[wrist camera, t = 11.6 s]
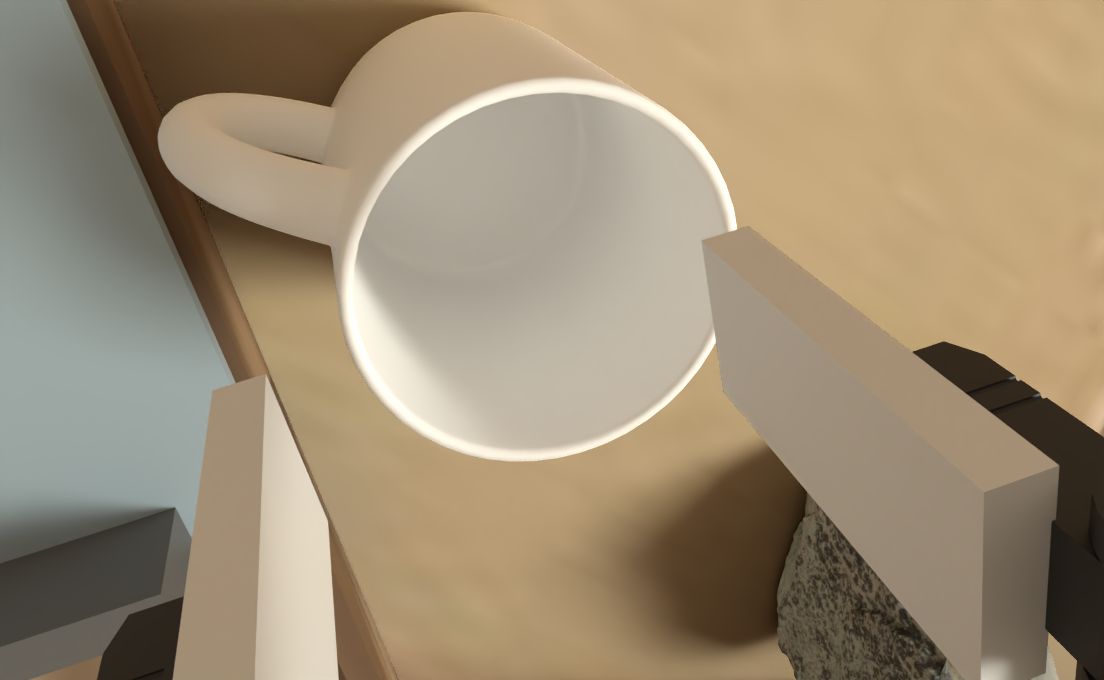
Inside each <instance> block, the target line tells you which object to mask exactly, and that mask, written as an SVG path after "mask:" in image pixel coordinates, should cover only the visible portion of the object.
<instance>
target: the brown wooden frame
mask: <svg viewBox="0 0 1104 680" xmlns="http://www.w3.org/2000/svg"><path fill="white" fill-rule="evenodd" d="M66 1H67V3H68V5H69V7H70V10H71V12H72V14H73V17H74V19H75V21H76V23H77V26H78V28H79V30H80V32H81V35H82V37H83V39H84V41H85V44H86V46H87V48H88V50H89V53H90V55H91V57H92V59H93V62H94V64H95V66H96V68H97V71H98V73H99V75H100V77H101V80H102V82H103V84H104V87H105V89H106V91H107V93H108V96H109V98H110V100H111V102H112V105H113V107H114V109H115V111H116V114H117V116H118V118H119V120H120V123H121V125H122V127H123V129H124V132H125V134H126V136H127V138H128V141H129V143H130V145H131V147H132V150H133V152H134V154H135V157H136V159H137V161H138V163H139V166H140V168H141V170H142V172H143V175H144V177H145V179H146V181H147V184H148V186H149V188H150V190H151V193H152V195H153V197H154V199H155V202H156V204H157V206H158V208H159V211H160V213H161V215H162V217H163V220H164V222H165V224H166V227H167V229H168V231H169V233H170V236H171V238H172V240H173V242H174V245H175V247H176V249H177V251H178V254H179V256H180V258H181V260H182V263H183V265H184V267H185V269H186V272H187V274H188V276H189V278H190V281H191V283H192V285H193V287H194V290H195V292H196V294H197V297H198V299H199V301H200V303H201V306H202V308H203V310H204V312H205V315H206V317H207V319H208V321H209V324H210V326H211V328H212V330H213V333H214V335H215V337H216V339H217V342H218V344H219V346H220V348H221V351H222V353H223V355H224V357H225V360H226V362H227V364H228V367H229V369H230V371H231V373H232V376H233V378H234V380H235V382H236V383H238V382H241V381H244V380H248V379H251V378H254V377H257V376H261V375H264V374H266V375H267V378H268V380H269V383H270V385H271V387H272V390H273V392H274V394H275V397H276V399H277V402H278V404H279V406H280V409H281V411H282V413H283V416H284V418H285V420H286V423H287V425H288V428H289V430H290V432H291V435H292V437H293V439H294V442H295V444H296V447H297V449H298V451H299V454H300V456H301V458H302V461H303V463H304V466H305V468H306V470H307V473H308V475H309V477H310V480H311V482H312V485H313V487H314V489H315V492H316V494H317V496H318V499H319V501H320V503H321V506H322V508H323V511H324V513H325V515H326V518H327V520H328V529H329V544H330V559H331V574H332V588H333V603H334V618H335V633H336V648H337V663H338V678H339V680H398V678H397V676H396V673H395V671H394V668H393V666H392V664H391V661H390V659H389V656H388V654H387V652H386V649H385V647H384V645H383V642H382V640H381V637H380V635H379V633H378V630H377V628H376V625H375V623H374V621H373V618H372V616H371V614H370V611H369V609H368V606H367V604H366V602H365V599H364V597H363V594H362V592H361V590H360V587H359V585H358V583H357V580H356V578H355V575H354V573H353V571H352V568H351V566H350V563H349V561H348V559H347V556H346V554H345V552H344V549H343V547H342V544H341V542H340V540H339V537H338V535H337V533H336V530H335V528H334V525H333V523H332V521H331V518H330V516H329V513H328V511H327V509H326V506H325V504H324V502H323V499H322V497H321V494H320V492H319V490H318V487H317V485H316V482H315V480H314V478H313V475H312V473H311V471H310V468H309V466H308V463H307V461H306V459H305V456H304V454H303V451H302V449H301V447H300V444H299V442H298V440H297V437H296V435H295V432H294V430H293V428H292V425H291V423H290V420H289V418H288V416H287V413H286V411H285V409H284V406H283V404H282V401H281V399H280V397H279V394H278V392H277V390H276V387H275V385H274V382H273V380H272V378H271V375H270V373H269V370H268V368H267V366H266V363H265V361H264V359H263V356H262V354H261V351H260V349H259V347H258V344H257V342H256V339H255V337H254V335H253V332H252V330H251V328H250V325H249V323H248V320H247V318H246V316H245V313H244V311H243V308H242V306H241V304H240V301H239V299H238V297H237V294H236V292H235V289H234V287H233V285H232V282H231V280H230V278H229V275H228V273H227V270H226V268H225V266H224V263H223V261H222V258H221V256H220V254H219V251H218V249H217V247H216V244H215V242H214V239H213V237H212V235H211V232H210V230H209V227H208V225H207V223H206V220H205V218H204V216H203V213H202V211H201V208H200V206H199V204H198V201H197V199H196V196H195V194H194V192H193V191H191V190H190V189H189V188H187V187H186V186H185V185H184V184H182V183H181V182H180V181H179V180H178V179H176V178H175V177H174V175H173V174H172V173H171V172H170V170H169V169H168V168H167V166H166V164H165V162H164V160H163V158H162V156H161V153H160V151H159V146H158V132H159V128H160V125H161V122H162V120H163V118H162V115H161V113H160V111H159V108H158V106H157V104H156V101H155V99H154V96H153V94H152V92H151V89H150V87H149V84H148V82H147V80H146V77H145V75H144V73H143V70H142V68H141V65H140V63H139V61H138V58H137V56H136V53H135V51H134V49H133V46H132V44H131V42H130V39H129V37H128V34H127V32H126V30H125V27H124V25H123V22H122V20H121V18H120V15H119V13H118V11H117V8H116V6H115V3H114V1H113V0H66ZM101 660H102V655H101V656H98V657H95V658H92V659H89V660H86V661H83V662H81V663H78V664H75V665H72V666H69V667H66V668H63V669H60V670H57V671H54V672H51V673H48V674H45V675H42V676H39V677H36V678H33V679H30V680H97V677H98V672H99V668H100V664H101Z"/></svg>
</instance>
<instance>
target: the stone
mask: <svg viewBox="0 0 1104 680" xmlns="http://www.w3.org/2000/svg"><path fill="white" fill-rule="evenodd" d="M793 539H794V541H793V542H792V544H791V548H790V552H789V554H788V556H787V558H786V562H785V567H784V571H783V574H782V577H781V580H780V584H779V588H778V592H777V601H778V608H777V612H778V614H779V615H778V624H779V626H778V628H777V632H778V637H779V642H778V645H779V647H780V649H781V651H782V653H784V654H785V655H787V656H788V658H789V661H790V663H791V665H792V667H793V670H794V675H795V678H796V680H965V679H964V678H963V677H962V676H961V674H960V673H959V672H958V671H957V670H956V668H955V667H954V666H953V665H952V664H951V663H950V661H949V660H948V659H947V658H946V657H945V655H944V654H943V653H942V652H941V651H940V649H939V648H938V647H937V646H936V645H935V643H934V642H933V641H932V640H931V639H930V637H929V636H928V635H927V634H926V633H925V632H924V630H923V629H922V628H921V627H920V626H919V624H918V623H917V622H916V621H915V620H914V618H913V617H912V616H911V615H910V614H909V612H908V611H907V610H906V609H905V608H904V607H903V605H902V604H901V603H900V602H899V601H898V599H897V598H896V597H895V596H894V595H893V593H892V592H891V591H890V590H889V589H888V587H887V586H886V585H885V584H884V583H883V581H882V580H881V579H880V578H879V577H878V576H877V574H876V573H875V572H874V571H873V570H872V568H871V567H870V566H869V565H868V564H867V562H866V561H865V560H864V559H863V558H862V556H861V555H860V554H859V553H858V552H857V551H856V549H855V548H854V547H853V546H852V545H851V543H850V542H849V541H848V540H847V539H846V537H845V536H844V535H843V534H842V533H841V531H840V530H839V529H838V528H837V527H836V526H835V524H834V523H833V522H832V521H831V520H830V518H829V517H828V516H827V515H826V514H825V512H824V511H823V510H822V509H821V508H820V506H819V505H818V504H817V503H816V502H815V500H814V499H813V498H812V497H811V496H810V495H809V493H808V492H807V501H806V505H805V517H804V518H803V521H802V522H801V523H800V524H799V526H798V528H797V530H796V532H795V534H794V535H793ZM1029 680H1059V679H1058V676H1057V673H1056V670H1055V665H1054V660H1053V658H1052V656H1051V654H1050V653H1049V648H1048V647H1047V662H1046V673H1045V674H1042V675H1040V676H1037V677H1034V678H1032V679H1029Z"/></svg>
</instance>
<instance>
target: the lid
mask: <svg viewBox="0 0 1104 680" xmlns="http://www.w3.org/2000/svg"><path fill="white" fill-rule="evenodd" d="M235 383H236V382H235V380H234V378H233V376H232V373H231V371H230V369H229V367H228V364H227V362H226V360H225V357H224V355H223V353H222V351H221V348H220V346H219V344H218V342H217V339H216V337H215V335H214V333H213V330H212V328H211V326H210V324H209V321H208V319H207V317H206V315H205V312H204V310H203V308H202V306H201V303H200V301H199V299H198V297H197V294H196V292H195V290H194V287H193V285H192V283H191V281H190V278H189V276H188V274H187V272H186V269H185V267H184V265H183V263H182V260H181V258H180V256H179V254H178V251H177V249H176V247H175V245H174V242H173V240H172V238H171V236H170V233H169V231H168V229H167V227H166V224H165V222H164V220H163V217H162V215H161V213H160V211H159V208H158V206H157V204H156V202H155V199H154V197H153V195H152V193H151V190H150V188H149V186H148V184H147V181H146V179H145V177H144V175H143V172H142V170H141V168H140V166H139V163H138V161H137V159H136V157H135V154H134V152H133V150H132V147H131V145H130V143H129V141H128V138H127V136H126V134H125V132H124V129H123V127H122V125H121V123H120V120H119V118H118V116H117V114H116V111H115V109H114V107H113V105H112V102H111V100H110V98H109V96H108V93H107V91H106V89H105V87H104V84H103V82H102V80H101V77H100V75H99V73H98V71H97V68H96V66H95V64H94V62H93V59H92V57H91V55H90V53H89V50H88V48H87V46H86V44H85V41H84V39H83V37H82V35H81V32H80V30H79V28H78V26H77V23H76V21H75V19H74V17H73V14H72V12H71V10H70V7H69V5H68V3H67V1H66V0H0V680H30V679H33V678H36V677H39V676H42V675H45V674H48V673H51V672H54V671H57V670H60V669H63V668H66V667H69V666H72V665H75V664H78V663H81V662H83V661H86V660H89V659H92V658H95V657H98V656H101V655H103V653H104V651H105V650H106V648H107V647H108V645H109V644H110V642H111V641H112V639H113V638H114V636H115V635H116V633H117V632H118V630H119V629H120V627H121V626H122V624H123V623H124V621H125V620H126V618H127V617H128V615H129V614H132V613H135V612H138V611H141V610H144V609H147V608H150V607H153V606H156V605H159V604H162V603H165V602H168V601H171V600H174V599H177V598H180V597H183V596H184V593H185V586H186V579H187V571H188V564H189V557H190V550H191V542H192V535H193V528H194V521H195V513H196V506H197V499H198V492H199V484H200V477H201V470H202V463H203V455H204V448H205V441H206V434H207V426H208V419H209V412H210V405H211V397H212V390H215V389H218V388H222V387H225V386H228V385H231V384H235Z"/></svg>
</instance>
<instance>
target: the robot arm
mask: <svg viewBox="0 0 1104 680" xmlns="http://www.w3.org/2000/svg"><path fill="white" fill-rule="evenodd" d="M701 242H702V249H703V256H704V263H705V270H706V277H707V284H708V291H709V297H710V304H711V311H712V318H713V325H714V332H715V339H716V346H717V353H718V360H719V367H720V374H721V380H722V387H723V392H724V393H725V394H726V396H727V397H728V398H729V399H730V400H731V402H732V403H733V404H734V405H735V406H736V408H737V409H738V410H739V411H740V412H741V414H742V415H743V416H744V417H745V418H746V419H747V421H748V422H749V423H750V424H751V425H752V427H753V428H754V429H755V430H756V431H757V433H758V434H759V435H760V436H761V437H762V439H763V440H764V441H765V442H766V443H767V444H768V446H769V447H770V448H771V449H772V450H773V452H774V453H775V454H776V455H777V456H778V458H779V459H780V460H781V461H782V462H783V464H784V465H785V466H786V467H787V468H788V470H789V471H790V472H791V473H792V474H793V475H794V477H795V478H796V479H797V480H798V481H799V483H800V484H801V485H802V486H803V487H804V489H805V490H806V491H807V492H808V493H809V495H810V496H811V497H812V498H813V499H814V500H815V502H816V503H817V504H818V505H819V506H820V508H821V509H822V510H823V511H824V512H825V514H826V515H827V516H828V517H829V518H830V520H831V521H832V522H833V523H834V524H835V526H836V527H837V528H838V529H839V530H840V531H841V533H842V534H843V535H844V536H845V537H846V539H847V540H848V541H849V542H850V543H851V545H852V546H853V547H854V548H855V549H856V551H857V552H858V553H859V554H860V555H861V556H862V558H863V559H864V560H865V561H866V562H867V564H868V565H869V566H870V567H871V568H872V570H873V571H874V572H875V573H876V574H877V576H878V577H879V578H880V579H881V580H882V581H883V583H884V584H885V585H886V586H887V587H888V589H889V590H890V591H891V592H892V593H893V595H894V596H895V597H896V598H897V599H898V601H899V602H900V603H901V604H902V605H903V607H904V608H905V609H906V610H907V611H908V612H909V614H910V615H911V616H912V617H913V618H914V620H915V621H916V622H917V623H918V624H919V626H920V627H921V628H922V629H923V630H924V632H925V633H926V634H927V635H928V636H929V637H930V639H931V640H932V641H933V642H934V643H935V645H936V646H937V647H938V648H939V649H940V651H941V652H942V653H943V654H944V655H945V657H946V658H947V659H948V660H949V661H950V663H951V664H952V665H953V666H954V667H955V668H956V670H957V671H958V672H959V673H960V674H961V676H962V677H963V678H964V679H965V680H1029V679H1032V678H1034V677H1037V676H1040V675H1042V674H1045V673H1046V662H1047V647H1048V632H1049V633H1050V634H1051V635H1052V636H1053V637H1054V638H1055V639H1056V640H1057V641H1058V642H1059V643H1060V644H1061V645H1062V646H1063V647H1064V648H1065V649H1066V650H1067V651H1068V652H1069V653H1070V654H1071V655H1072V656H1073V657H1074V658H1075V659H1076V660H1077V668H1076V679H1075V680H1104V437H1103V436H1101V435H1100V434H1098V433H1097V432H1095V431H1094V430H1093V429H1091V428H1090V427H1088V426H1087V425H1085V424H1084V423H1082V422H1081V421H1080V420H1078V419H1077V418H1075V417H1074V416H1072V415H1071V414H1069V413H1068V412H1067V411H1065V410H1064V409H1062V408H1061V407H1059V406H1058V405H1057V404H1055V403H1054V402H1052V401H1051V400H1049V399H1048V398H1044V399H1043V398H1042V397H1041V395H1040V393H1039V392H1038V391H1036V390H1035V389H1033V388H1032V387H1031V386H1029V385H1028V384H1026V383H1025V382H1023V381H1022V380H1020V381H1017V380H1016V378H1015V375H1013V374H1012V373H1010V372H1009V371H1008V370H1006V369H1005V368H1003V367H1002V366H1000V365H999V364H997V363H996V362H995V361H993V360H992V359H990V358H989V357H987V356H986V355H984V354H981V353H978V352H975V351H972V350H969V349H966V348H962V347H959V346H956V345H953V344H950V343H947V342H941V343H938V344H935V345H932V346H929V347H926V348H923V349H920V350H917V351H913V352H911V351H910V350H909V349H907V348H906V347H905V346H903V345H902V344H901V343H900V342H898V341H897V340H896V339H894V338H893V337H892V336H890V335H889V334H888V333H887V332H885V331H884V330H883V329H881V328H880V327H879V326H877V325H876V324H875V323H874V322H872V321H871V320H870V319H868V318H867V317H866V316H864V315H863V314H862V313H861V312H859V311H858V310H857V309H855V308H854V307H853V306H851V305H850V304H849V303H848V302H846V301H845V300H844V299H842V298H841V297H840V296H838V295H837V294H836V293H835V292H833V291H832V290H831V289H829V288H828V287H827V286H825V285H824V284H823V283H822V282H820V281H819V280H818V279H816V278H815V277H814V276H812V275H811V274H810V273H809V272H807V271H806V270H805V269H803V268H802V267H801V266H799V265H798V264H797V263H796V262H794V261H793V260H792V259H790V258H789V257H788V256H787V255H785V254H784V253H783V252H781V251H780V250H779V249H777V248H776V247H775V246H774V245H772V244H771V243H770V242H768V241H767V240H766V239H764V238H763V237H762V236H761V235H759V234H758V233H757V232H755V231H754V230H753V229H751V228H750V227H749V226H747V227H743V228H740V229H737V230H734V231H730V232H727V233H724V234H721V235H717V236H714V237H711V238H707V239H704V240H701ZM97 680H339V678H338V663H337V648H336V633H335V618H334V603H333V588H332V574H331V559H330V544H329V529H328V520H327V518H326V515H325V513H324V511H323V508H322V506H321V503H320V501H319V499H318V496H317V494H316V492H315V489H314V487H313V485H312V482H311V480H310V477H309V475H308V473H307V470H306V468H305V466H304V463H303V461H302V458H301V456H300V454H299V451H298V449H297V447H296V444H295V442H294V439H293V437H292V435H291V432H290V430H289V428H288V425H287V423H286V420H285V418H284V416H283V413H282V411H281V409H280V406H279V404H278V402H277V399H276V397H275V394H274V392H273V390H272V387H271V385H270V383H269V380H268V378H267V375H266V374H264V375H261V376H257V377H254V378H251V379H248V380H244V381H241V382H238V383H235V384H231V385H228V386H225V387H222V388H218V389H215V390H212V397H211V405H210V412H209V419H208V426H207V434H206V441H205V448H204V455H203V463H202V470H201V477H200V484H199V492H198V499H197V506H196V513H195V521H194V528H193V535H192V542H191V550H190V557H189V564H188V571H187V579H186V586H185V593H184V596H183V597H180V598H177V599H174V600H171V601H168V602H165V603H162V604H159V605H156V606H153V607H150V608H147V609H144V610H141V611H138V612H135V613H132V614H129V615H128V617H127V618H126V620H125V621H124V623H123V624H122V626H121V627H120V629H119V630H118V632H117V633H116V635H115V636H114V638H113V639H112V641H111V642H110V644H109V645H108V647H107V648H106V650H105V651H104V653H103V655H102V660H101V664H100V668H99V672H98V677H97Z"/></svg>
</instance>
